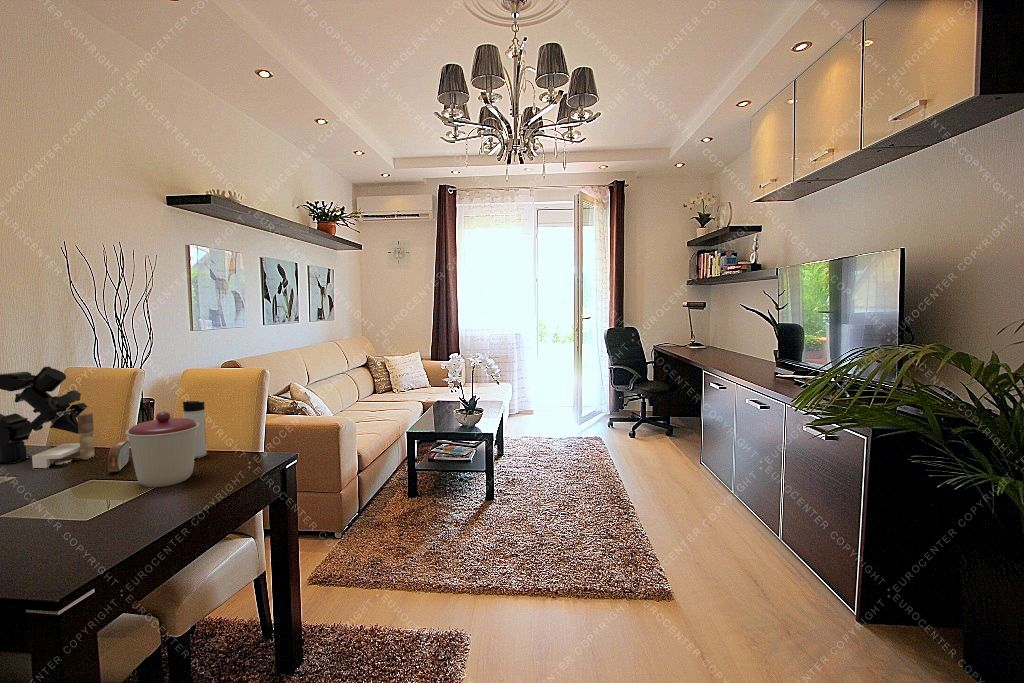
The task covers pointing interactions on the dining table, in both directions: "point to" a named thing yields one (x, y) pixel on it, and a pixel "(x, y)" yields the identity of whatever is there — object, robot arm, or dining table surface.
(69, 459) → the grey metal disc
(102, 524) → the dining table surface
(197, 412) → the travel mug
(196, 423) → the canister
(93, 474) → the dining table surface
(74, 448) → the cream rectangular box
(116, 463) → the tin
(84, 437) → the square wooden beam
